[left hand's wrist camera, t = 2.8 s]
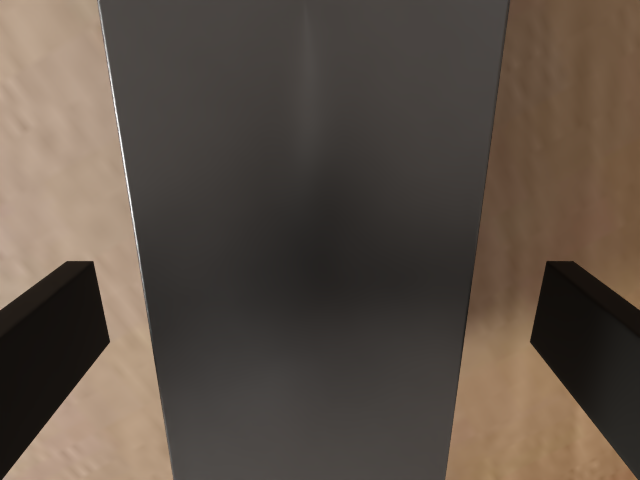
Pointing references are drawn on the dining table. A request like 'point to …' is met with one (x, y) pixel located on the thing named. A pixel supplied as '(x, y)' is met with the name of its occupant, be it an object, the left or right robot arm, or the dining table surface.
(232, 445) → the bar
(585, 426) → the dining table surface
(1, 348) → the left robot arm
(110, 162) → the dining table surface
